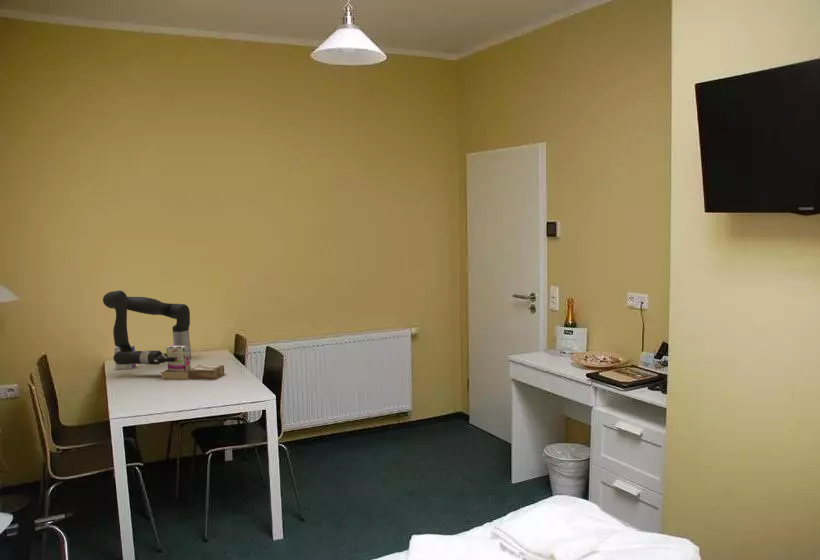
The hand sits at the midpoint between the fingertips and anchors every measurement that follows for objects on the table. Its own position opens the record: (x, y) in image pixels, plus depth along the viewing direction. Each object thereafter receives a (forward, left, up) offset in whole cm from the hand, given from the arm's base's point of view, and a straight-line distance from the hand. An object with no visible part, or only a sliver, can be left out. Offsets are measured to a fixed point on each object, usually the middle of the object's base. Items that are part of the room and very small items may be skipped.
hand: (178, 357), depth 344 cm
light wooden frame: (0, 0, -10) cm, 10 cm away
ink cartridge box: (-16, -43, -10) cm, 47 cm away
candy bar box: (0, 0, -10) cm, 10 cm away
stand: (0, +15, -10) cm, 18 cm away
